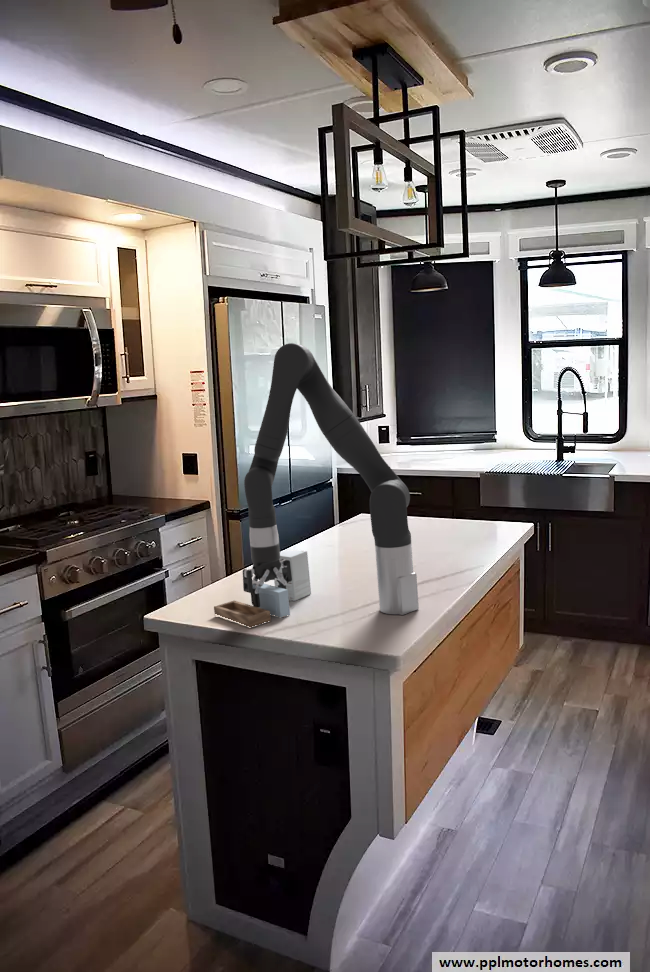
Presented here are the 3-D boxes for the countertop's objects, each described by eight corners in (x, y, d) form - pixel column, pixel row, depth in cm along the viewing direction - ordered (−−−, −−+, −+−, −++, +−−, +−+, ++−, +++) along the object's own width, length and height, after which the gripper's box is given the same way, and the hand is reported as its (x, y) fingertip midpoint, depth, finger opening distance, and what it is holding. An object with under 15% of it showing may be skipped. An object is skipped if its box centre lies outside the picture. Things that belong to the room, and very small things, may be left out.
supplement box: (292, 591, 230) (288, 548, 229) (312, 594, 226) (308, 550, 224) (274, 598, 225) (270, 554, 223) (294, 601, 220) (290, 556, 218)
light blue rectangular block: (290, 615, 208) (287, 589, 207) (280, 619, 206) (277, 592, 205) (262, 607, 217) (260, 582, 216) (252, 610, 215) (250, 585, 214)
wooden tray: (270, 621, 204) (269, 610, 204) (250, 628, 200) (248, 617, 200) (235, 610, 216) (234, 600, 216) (214, 616, 212) (213, 606, 212)
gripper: (250, 550, 202) (256, 612, 204) (294, 539, 211) (299, 598, 213) (233, 546, 207) (239, 607, 210) (277, 535, 216) (282, 594, 219)
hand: (269, 602), depth 211 cm, fingers open, 8 cm apart
